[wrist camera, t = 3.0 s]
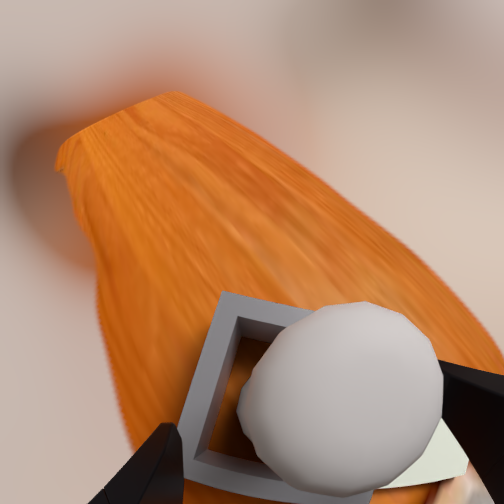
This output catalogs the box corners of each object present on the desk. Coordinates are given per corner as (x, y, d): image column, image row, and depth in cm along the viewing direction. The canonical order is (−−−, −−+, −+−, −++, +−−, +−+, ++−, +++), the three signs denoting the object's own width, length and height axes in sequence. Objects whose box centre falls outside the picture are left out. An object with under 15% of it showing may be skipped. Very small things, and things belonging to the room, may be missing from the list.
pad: (457, 473, 10) (464, 474, 9) (371, 485, 11) (377, 488, 10) (472, 380, 14) (479, 377, 13) (394, 377, 15) (401, 375, 14)
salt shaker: (224, 430, 14) (138, 476, 3) (261, 352, 17) (270, 217, 6) (313, 460, 12) (433, 538, 2) (344, 380, 15) (491, 299, 4)
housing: (345, 488, 11) (368, 504, 8) (184, 458, 13) (164, 469, 9) (375, 344, 16) (401, 326, 13) (229, 315, 18) (222, 290, 15)
